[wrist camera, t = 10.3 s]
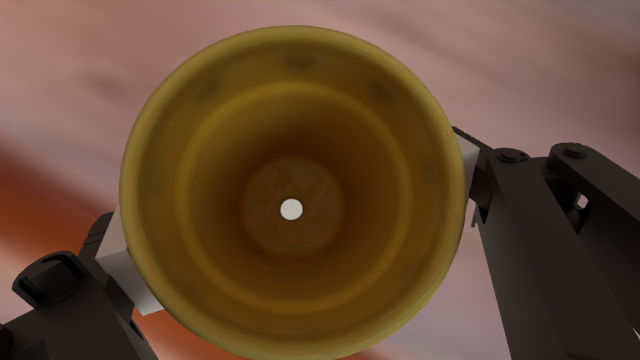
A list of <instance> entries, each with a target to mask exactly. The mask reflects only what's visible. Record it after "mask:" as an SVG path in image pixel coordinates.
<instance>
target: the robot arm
mask: <svg viewBox="0 0 640 360" xmlns="http://www.w3.org/2000/svg"><path fill="white" fill-rule="evenodd" d="M452 129H453V131H454V134H455V136H456V138H457V141H458V144H459V147H460V151H461V155H462V159H463V164H464V169H465V177H466V186H467V189H466V190H467V201H466V209H467V205H468V200H469V198H471V199H472V200H473V201H474V202H476V207H475V211H474V215H473V219H472V224H471V227H475V223H476V222H477V224H478V227H479V231H480V235H481V239H482V243H483V247H484V251H485V255H486V259H487V263H488V267H489V271H490V275H491V279H492V283H493V287H494V291H495V295H496V299H497V303H498V307H499V311H500V315H501V319H502V323H503V327H504V331H505V335H506V339H507V343H508V347H509V351H510V355H511V358H512V360H640V340H639V338H638V336H637V335H636V333H635V331H636V332H637V333H638V334H639V335H640V179H638V178H637V177H635V176H634V175H632V174H631V173H629V172H628V171H626V170H625V169H623V168H622V167H620V166H619V165H617V164H615V163H614V162H612V161H611V160H609V159H608V158H606V157H605V156H603V155H602V154H600V153H599V152H597V151H596V150H594V149H592V148H590V147H588V146H584V145H582V144H579V143H571V142H570V143H559V144H555V145H554V146H552V148H551V150H550V153H549V156H548V157H536V158H531V157H530V156H529V155H528V154H526V153H524V152H522V151H520V150H516V149H512V148H497V149H492V148H491V147H489V146H487V145H485V144H484V143H482V142H480V141H479V140H477V139H475V138H473V137H471V136H470V135H468V134H467V133H464V132H463V131H461V130H460V129H458V128H456V127H454V126H452ZM582 194H583V195H584V196H585V197H586V198H587V199H588V200H589V201H588V203H587V204H586V206H585V208H584V209H583V208H581V207H580V206H579V205H578V204H577V203H578V201H579V199H580V197H581V195H582ZM83 245H84V246H83V247H82V248H81V250H80V252H79V254H78V256H77V257H76V255H75V254H73V253H72V252H71V251H59V252H55V253H51V254H49V255H47V256H44V257H42V258H40V259H38V260H37V261H35V262H34V263H32V264H30V265H29V266H28V267H27V268H25V269H24V270H23V271H22V272H21V273H20V274H19V275H18V276H17V278H16V279H15V280H14V282H13V285H12V290H13V291H14V292H15V293H16V294H17V295H19V296H20V297H21V298H22V299H23V300H25V301H26V302H27V303H28V304H29V305H31V306H32V307H33V308H34V309H33V310H31V311H29V312H27V313H25V314H23V315H21V316H19V317H17V318H15V319H14V320H12V321H10V322H8V323H6V324H4V325H2V324H0V360H159V359H158V358H157V356H156V355H155V353H154V351H153V350H152V348H151V347H150V345H149V343H148V342H147V340H146V338H145V337H144V335H143V334H142V332H141V330H140V329H139V327H138V326H137V324H136V323H135V322H134V321H133V320H132V319H131V317H132V313H133V308H134V306H135V307H136V308H137V310H138V311H139V312H140V313H141V314H142V316H144V315H147V314H150V313H153V312H156V311H159V310H162V309H164V308H163V307H162V305H161V304H160V303H159V302H158V301H157V300H156V298H155V297H154V296H153V294H152V293H151V292H150V290H149V289H148V287H147V286H146V284H145V283H144V281H143V279H142V277H141V275H140V274H139V272H138V270H137V268H136V266H135V263H134V261H133V259H132V256H131V254H130V252H129V249H128V246H127V243H126V240H125V236H124V232H123V227H122V222H121V217H120V204H119V202H118V204H117V207H116V209H115V211H113V212H110V213H106V214H103V215H102V216H101V217H100V218H99V219H98V220H97V221H96V222H95V223H94V224H93V225H92V227H91V229H90V231H89V233H88V238H86V240H85V242H84V244H83ZM632 327H633V328H634V329H635V331H634V330H633V328H632Z"/></svg>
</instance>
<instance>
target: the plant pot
mask: <svg viewBox="0 0 640 360" xmlns="http://www.w3.org/2000/svg"><path fill="white" fill-rule="evenodd" d="M466 189H467V186H466V177H465V169H464V164H463V159H462V155H461V151H460V147H459V144H458V141H457V138H456V136H455V134H454V131H453V129H452V126H451V124H450V122H449V120H448V119H447V117H446V115H445V113H444V111H443V109H442V108H441V106H440V105H439V103H438V102H437V100H436V99H435V98H434V96H433V95H432V94H431V92H430V91H429V90H428V89H427V87H426V86H425V85H424V84H423V83H422V82H421V81H420V80H419V78H418V77H417V76H416V75H415V74H414V73H413V72H412V71H410V70H409V69H408V68H407V67H406V66H405V65H403V64H402V63H401V62H400V61H398V60H397V59H396V58H395V57H393V56H391V55H390V54H388V53H387V52H385V51H383V50H382V49H380V48H378V47H377V46H375V45H373V44H371V43H369V42H367V41H364V40H362V39H360V38H357V37H355V36H352V35H349V34H346V33H343V32H339V31H335V30H330V29H326V28H320V27H312V26H302V25H299V26H274V27H266V28H260V29H255V30H251V31H247V32H243V33H239V34H236V35H233V36H230V37H228V38H225V39H223V40H221V41H219V42H216V43H214V44H212V45H210V46H208V47H206V48H205V49H203V50H201V51H200V52H198V53H196V54H195V55H193V56H192V57H190V58H189V59H188V60H186V61H185V62H184V63H182V64H181V65H180V66H179V67H177V68H176V69H175V70H174V71H173V72H172V73H171V74H170V75H169V76H168V77H167V78H166V79H165V80H164V81H163V82H162V83H161V84H160V85H159V87H158V88H157V89H156V90H155V91H154V93H153V94H152V95H151V97H150V98H149V99H148V101H147V102H146V104H145V105H144V107H143V108H142V110H141V111H140V113H139V115H138V117H137V119H136V121H135V123H134V125H133V128H132V130H131V133H130V136H129V138H128V141H127V144H126V148H125V151H124V155H123V160H122V165H121V172H120V180H119V204H120V217H121V222H122V227H123V232H124V236H125V240H126V243H127V246H128V249H129V252H130V254H131V256H132V259H133V261H134V263H135V266H136V268H137V270H138V272H139V274H140V275H141V277H142V279H143V281H144V283H145V284H146V286H147V287H148V289H149V290H150V292H151V293H152V294H153V296H154V297H155V298H156V300H157V301H158V302H159V303H160V304H161V305H162V307H163V308H164V309H165V310H166V311H167V312H168V313H169V314H170V315H171V316H172V317H173V318H175V319H176V320H177V321H178V322H179V323H180V324H182V325H183V326H184V327H185V328H187V329H188V330H189V331H191V332H192V333H193V334H195V335H197V336H198V337H200V338H202V339H203V340H205V341H207V342H208V343H211V344H213V345H215V346H217V347H219V348H221V349H223V350H226V351H228V352H231V353H233V354H236V355H239V356H243V357H246V358H250V359H254V360H334V359H337V358H341V357H345V356H348V355H351V354H353V353H356V352H359V351H361V350H364V349H366V348H368V347H371V346H373V345H375V344H377V343H378V342H380V341H382V340H383V339H385V338H387V337H388V336H390V335H392V334H393V333H395V332H396V331H397V330H399V329H400V328H401V327H403V326H404V325H405V324H406V323H407V322H409V321H410V320H411V319H412V318H413V317H414V316H415V315H416V314H417V313H418V312H419V311H420V310H421V309H422V308H423V307H424V306H425V305H426V304H427V303H428V301H429V300H430V299H431V298H432V296H433V295H434V294H435V292H436V291H437V289H438V288H439V286H440V284H441V283H442V281H443V280H444V278H445V276H446V274H447V272H448V270H449V268H450V266H451V264H452V262H453V259H454V257H455V254H456V252H457V249H458V246H459V243H460V239H461V236H462V231H463V227H464V221H465V213H466V201H467V190H466ZM289 199H294V200H297V201H298V202H300V204H301V205H302V213H301V215H300V216H299V217H298V218H296V219H293V220H289V219H286V218H284V217H283V216H282V214H281V206H282V204H283V203H284V202H285V201H286V200H289Z"/></svg>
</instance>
